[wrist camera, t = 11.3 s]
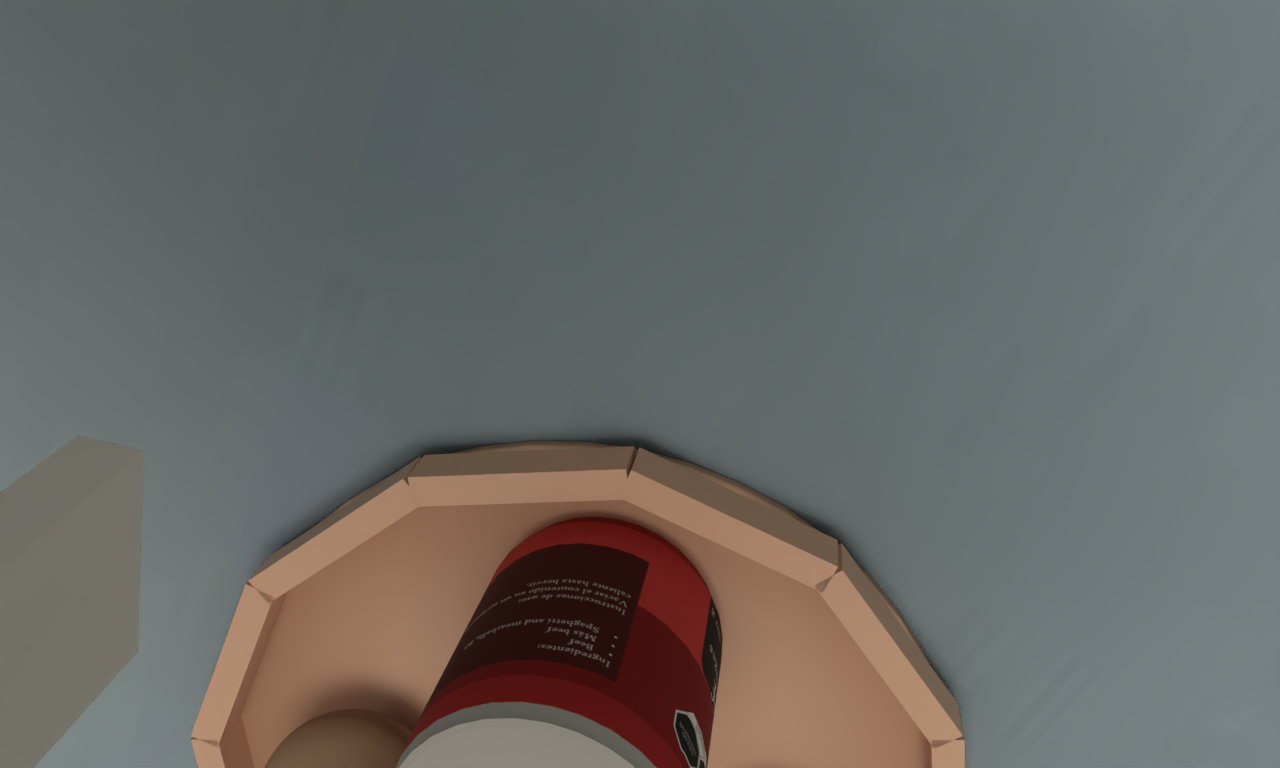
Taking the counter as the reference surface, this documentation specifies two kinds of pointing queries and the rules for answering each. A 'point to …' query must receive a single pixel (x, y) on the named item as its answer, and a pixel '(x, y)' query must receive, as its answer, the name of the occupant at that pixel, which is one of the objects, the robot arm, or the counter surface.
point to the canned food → (580, 659)
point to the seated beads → (343, 742)
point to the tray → (504, 517)
